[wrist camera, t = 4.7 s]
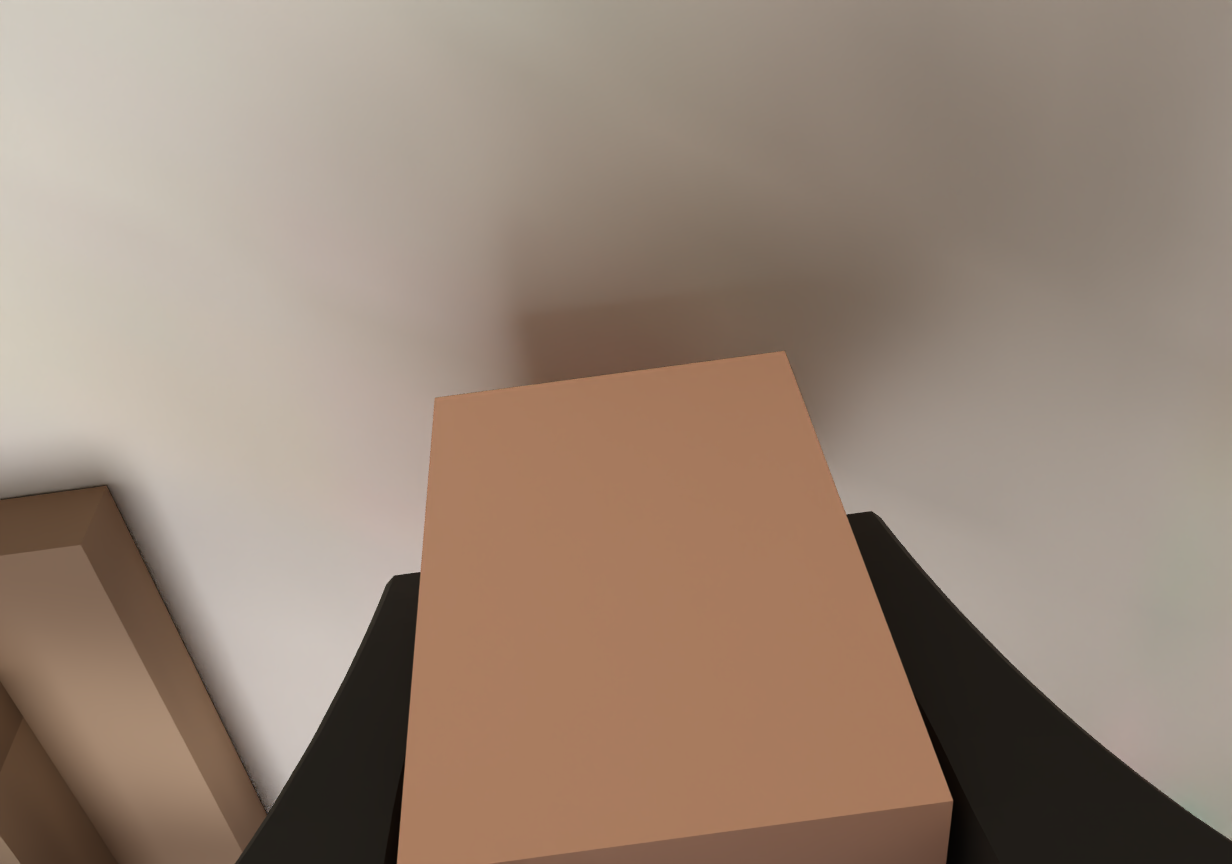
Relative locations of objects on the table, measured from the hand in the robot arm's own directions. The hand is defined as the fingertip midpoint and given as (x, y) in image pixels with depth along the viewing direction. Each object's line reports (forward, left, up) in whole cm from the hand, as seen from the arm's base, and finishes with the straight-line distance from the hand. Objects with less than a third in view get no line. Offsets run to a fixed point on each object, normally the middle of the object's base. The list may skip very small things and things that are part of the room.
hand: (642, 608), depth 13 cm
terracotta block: (0, 0, -2) cm, 2 cm away
